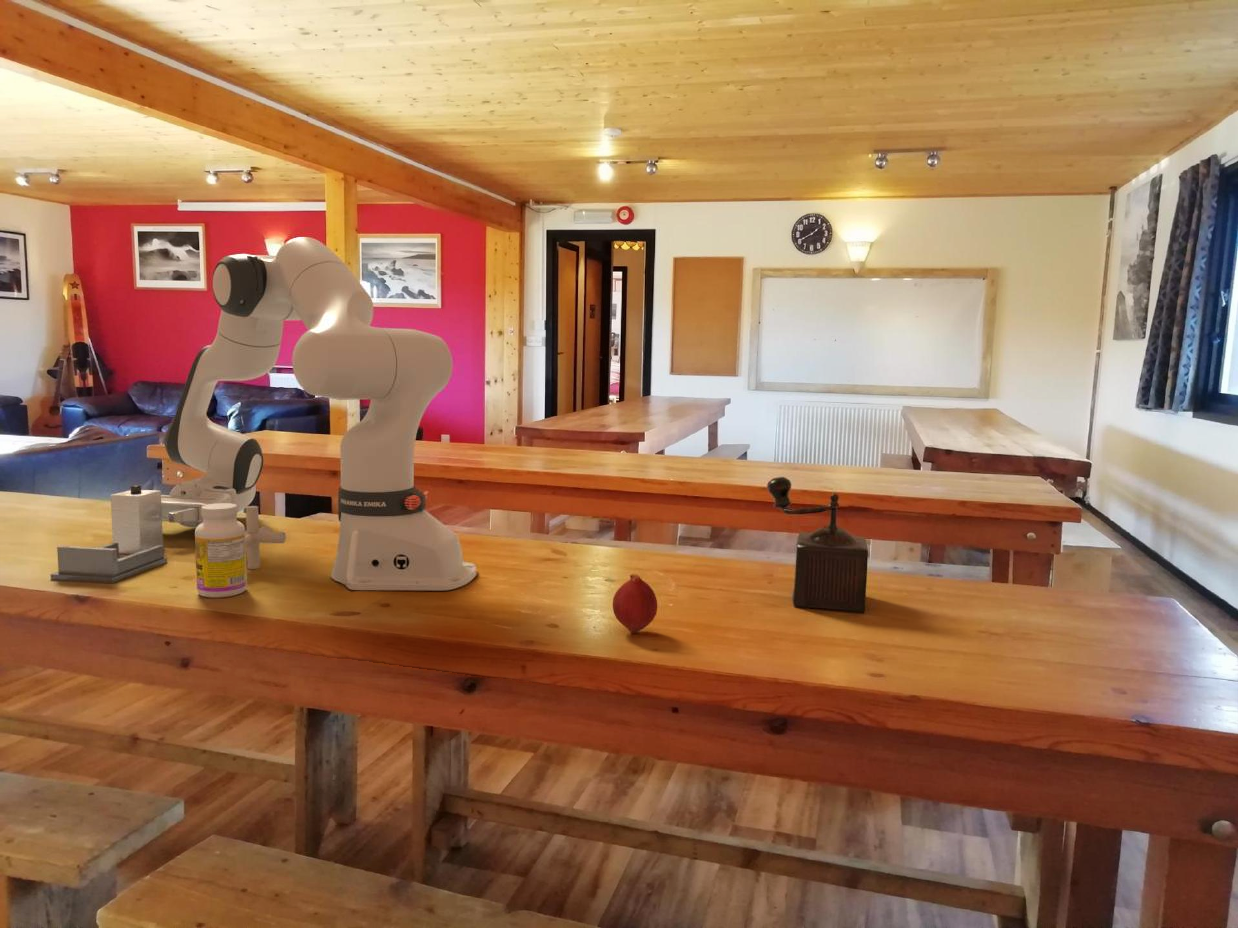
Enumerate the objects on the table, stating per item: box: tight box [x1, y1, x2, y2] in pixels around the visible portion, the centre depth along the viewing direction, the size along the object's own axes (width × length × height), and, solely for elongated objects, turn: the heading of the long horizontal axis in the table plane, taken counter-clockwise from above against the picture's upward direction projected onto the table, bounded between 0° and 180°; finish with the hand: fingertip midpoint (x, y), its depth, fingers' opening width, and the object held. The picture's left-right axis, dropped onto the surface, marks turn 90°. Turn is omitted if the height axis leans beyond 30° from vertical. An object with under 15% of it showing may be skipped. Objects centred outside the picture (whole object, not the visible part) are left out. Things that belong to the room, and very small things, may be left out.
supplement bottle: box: [194, 503, 248, 599], centre depth 125 cm, size 7×7×13 cm
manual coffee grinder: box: [766, 476, 869, 614], centre depth 130 cm, size 16×11×18 cm
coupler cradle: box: [50, 542, 168, 584], centre depth 136 cm, size 10×13×5 cm
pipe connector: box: [245, 505, 287, 570], centre depth 140 cm, size 10×10×10 cm
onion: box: [612, 573, 659, 634], centre depth 113 cm, size 6×6×8 cm
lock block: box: [110, 484, 164, 555], centre depth 149 cm, size 5×6×11 cm
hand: (147, 516), depth 152 cm, fingers open, 8 cm apart
